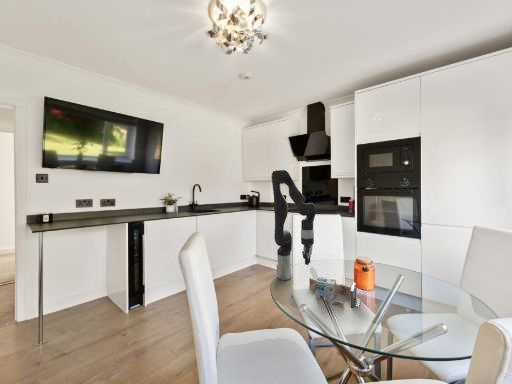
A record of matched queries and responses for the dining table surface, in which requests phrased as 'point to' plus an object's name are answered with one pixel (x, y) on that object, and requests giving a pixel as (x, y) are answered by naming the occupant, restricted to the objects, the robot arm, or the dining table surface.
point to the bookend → (354, 301)
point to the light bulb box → (326, 288)
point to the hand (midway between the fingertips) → (307, 263)
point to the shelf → (340, 290)
